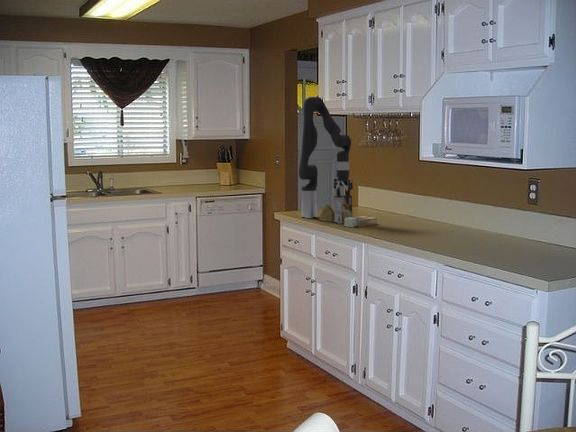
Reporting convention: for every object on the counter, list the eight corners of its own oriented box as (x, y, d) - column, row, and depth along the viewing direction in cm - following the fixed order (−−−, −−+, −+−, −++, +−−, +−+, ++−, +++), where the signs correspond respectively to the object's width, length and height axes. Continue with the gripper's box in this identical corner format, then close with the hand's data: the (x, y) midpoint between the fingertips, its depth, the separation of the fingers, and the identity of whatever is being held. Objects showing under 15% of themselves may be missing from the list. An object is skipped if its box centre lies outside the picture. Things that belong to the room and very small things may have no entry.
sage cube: (344, 226, 382) (344, 218, 381) (349, 225, 386) (349, 217, 385) (351, 227, 379) (351, 219, 378) (356, 226, 382) (356, 217, 382)
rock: (341, 217, 401) (334, 213, 410) (333, 207, 398) (327, 203, 407) (327, 229, 400) (321, 224, 409) (319, 218, 397) (313, 214, 406)
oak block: (347, 224, 391) (347, 217, 391) (362, 222, 399) (362, 215, 398) (361, 227, 382) (361, 220, 381) (376, 224, 389) (376, 218, 388)
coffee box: (345, 221, 403) (345, 194, 400) (352, 222, 398) (352, 195, 395) (334, 222, 397) (333, 196, 395) (341, 224, 392) (341, 196, 390)
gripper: (330, 169, 396) (330, 196, 398) (346, 170, 385) (346, 197, 387) (339, 168, 401) (340, 195, 403) (355, 169, 389) (356, 196, 391)
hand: (343, 196), depth 395 cm, fingers open, 8 cm apart
